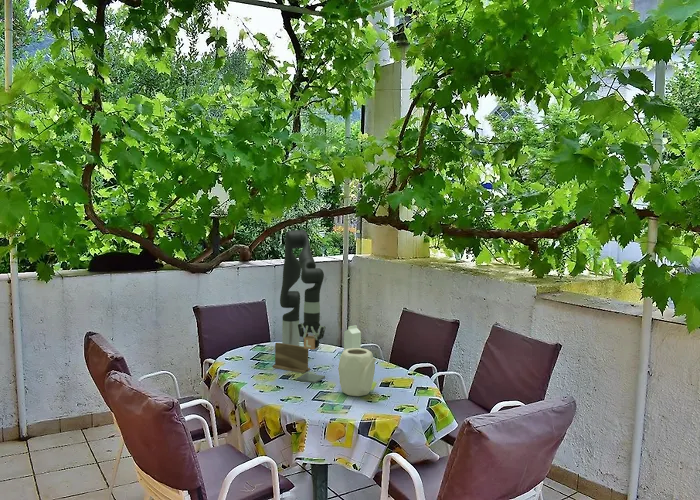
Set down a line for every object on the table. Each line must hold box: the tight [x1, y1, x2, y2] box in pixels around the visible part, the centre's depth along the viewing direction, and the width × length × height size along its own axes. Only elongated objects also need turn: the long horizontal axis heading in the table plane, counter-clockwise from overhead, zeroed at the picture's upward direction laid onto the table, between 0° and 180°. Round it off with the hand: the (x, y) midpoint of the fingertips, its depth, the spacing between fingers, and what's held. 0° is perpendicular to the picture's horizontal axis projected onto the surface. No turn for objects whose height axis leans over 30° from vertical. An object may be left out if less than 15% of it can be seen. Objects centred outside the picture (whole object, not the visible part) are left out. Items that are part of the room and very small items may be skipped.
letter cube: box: [303, 335, 320, 351], centre depth 277 cm, size 5×5×5 cm
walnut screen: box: [272, 342, 311, 374], centre depth 293 cm, size 6×18×12 cm, turn 65°
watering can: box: [337, 347, 377, 397], centre depth 259 cm, size 16×27×19 cm, turn 31°
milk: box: [343, 324, 362, 351], centre depth 295 cm, size 6×6×22 cm
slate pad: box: [295, 372, 326, 384], centre depth 279 cm, size 10×10×1 cm
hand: (311, 346), depth 277 cm, fingers closed on letter cube, 5 cm apart
